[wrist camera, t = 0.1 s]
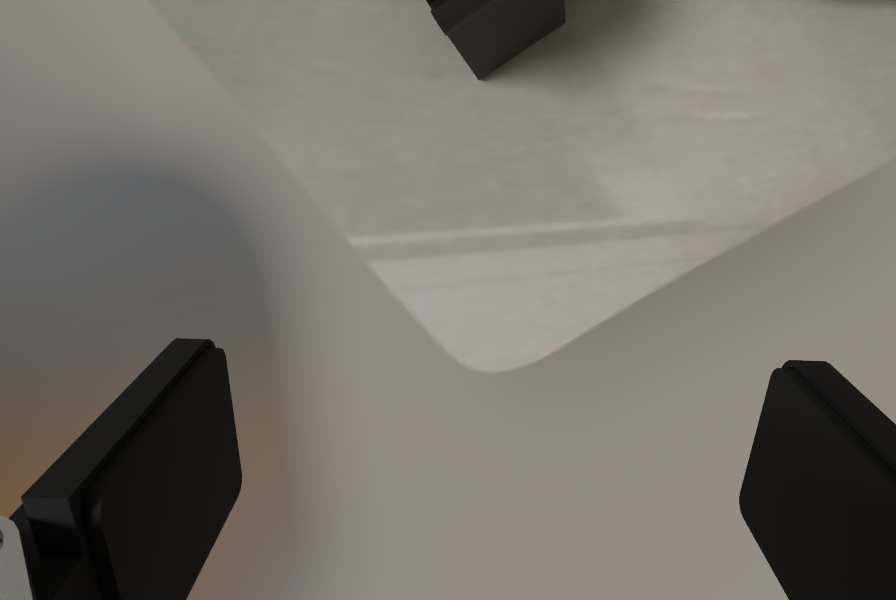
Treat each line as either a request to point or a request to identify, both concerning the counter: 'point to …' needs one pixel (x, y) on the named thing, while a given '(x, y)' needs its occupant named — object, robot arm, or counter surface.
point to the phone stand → (495, 27)
